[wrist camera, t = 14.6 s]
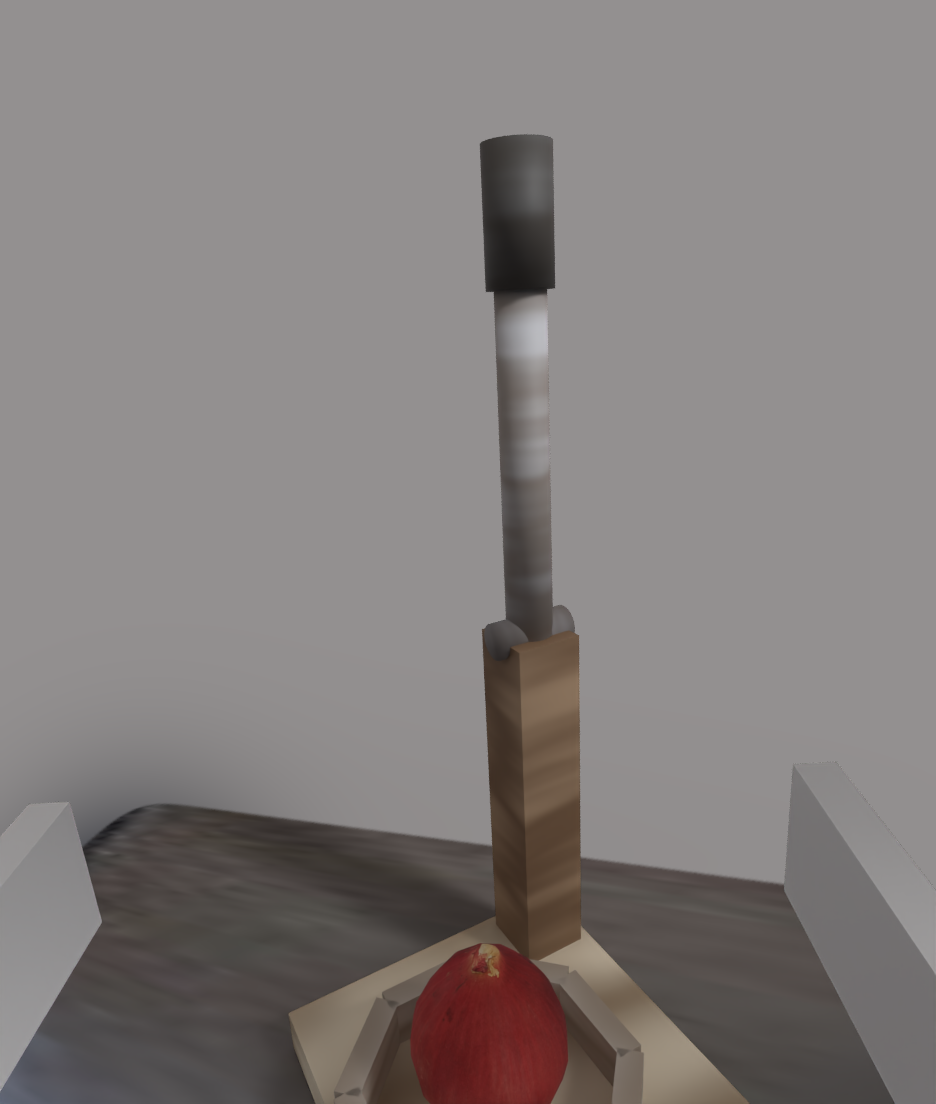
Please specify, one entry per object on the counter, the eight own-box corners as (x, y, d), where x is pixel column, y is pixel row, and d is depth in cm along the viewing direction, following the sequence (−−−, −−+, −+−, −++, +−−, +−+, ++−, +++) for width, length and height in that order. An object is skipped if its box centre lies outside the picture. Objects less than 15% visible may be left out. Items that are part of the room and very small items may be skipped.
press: (759, 1156, 30) (858, 44, 19) (434, 1408, 23) (286, -53, 12) (548, 921, 41) (531, 155, 30) (293, 1047, 35) (153, 135, 24)
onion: (402, 1067, 32) (387, 907, 29) (533, 1025, 33) (529, 870, 31) (439, 1218, 26) (425, 1036, 24) (594, 1160, 28) (595, 984, 26)
